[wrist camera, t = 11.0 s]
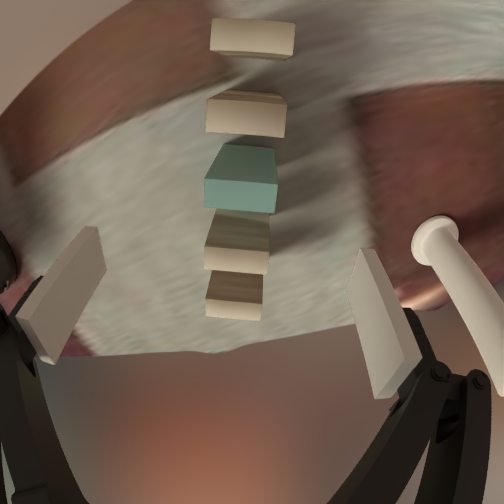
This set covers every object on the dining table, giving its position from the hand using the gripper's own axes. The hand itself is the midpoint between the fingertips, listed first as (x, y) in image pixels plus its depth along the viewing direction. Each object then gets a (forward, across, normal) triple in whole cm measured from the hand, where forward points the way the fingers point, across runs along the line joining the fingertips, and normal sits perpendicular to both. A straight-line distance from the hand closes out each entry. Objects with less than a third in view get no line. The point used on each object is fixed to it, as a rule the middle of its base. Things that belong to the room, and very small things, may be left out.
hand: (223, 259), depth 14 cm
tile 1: (+18, 0, +11) cm, 21 cm away
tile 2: (+18, 0, +6) cm, 18 cm away
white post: (+17, +24, -7) cm, 31 cm away
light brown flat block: (+18, 0, -11) cm, 21 cm away
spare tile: (+18, 0, 0) cm, 18 cm away
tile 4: (+18, 0, -6) cm, 18 cm away
